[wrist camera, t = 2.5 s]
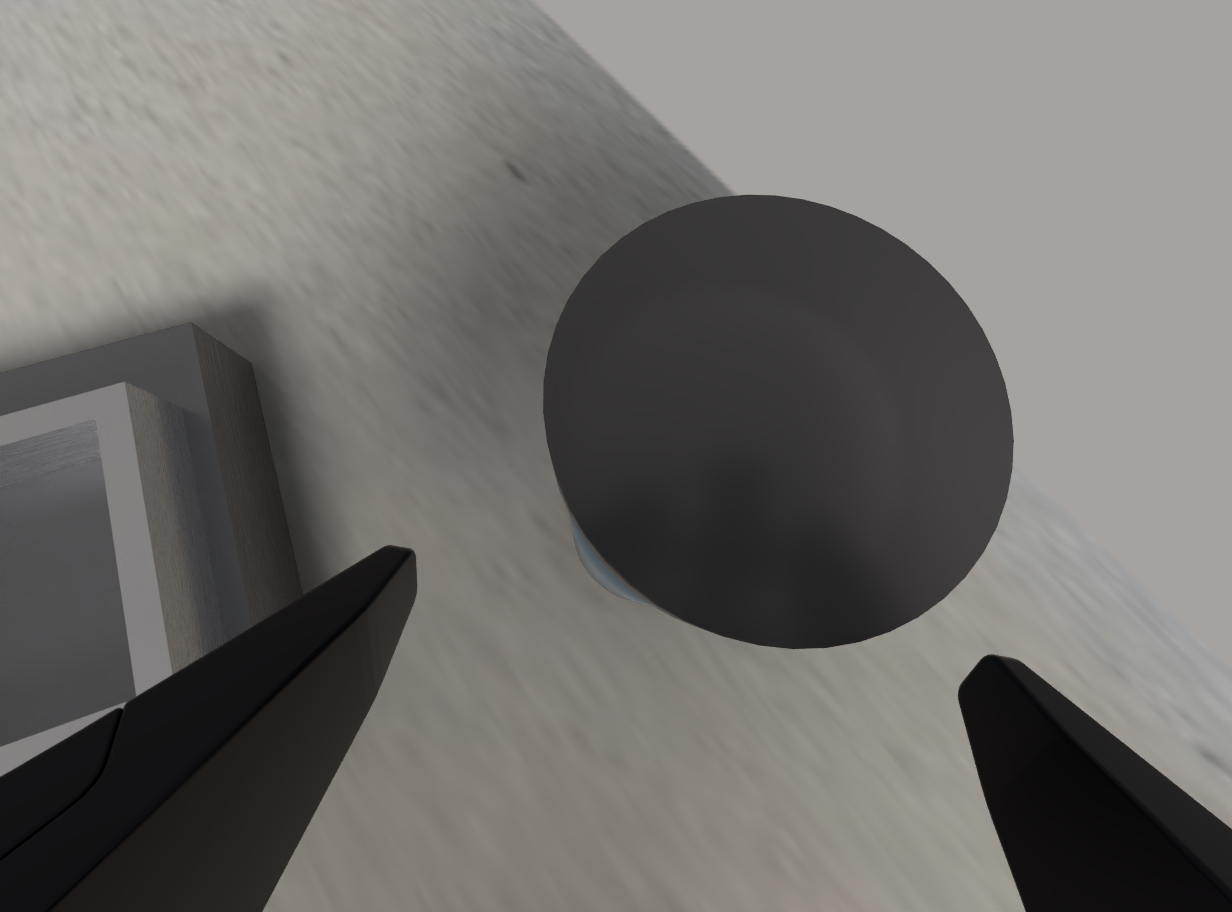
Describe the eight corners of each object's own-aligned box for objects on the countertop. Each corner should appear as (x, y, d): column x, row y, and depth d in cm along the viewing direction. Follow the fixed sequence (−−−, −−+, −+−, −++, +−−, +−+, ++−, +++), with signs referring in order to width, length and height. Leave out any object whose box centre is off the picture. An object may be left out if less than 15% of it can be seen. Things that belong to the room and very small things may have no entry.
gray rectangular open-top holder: (339, 760, 16) (235, 835, 11) (-21, 903, 15) (-317, 1058, 10) (251, 362, 19) (138, 286, 14) (-56, 449, 18) (-298, 396, 13)
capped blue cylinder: (711, 618, 18) (1018, 692, 5) (556, 589, 18) (492, 596, 5) (730, 467, 19) (1009, 240, 7) (586, 440, 19) (592, 158, 7)
